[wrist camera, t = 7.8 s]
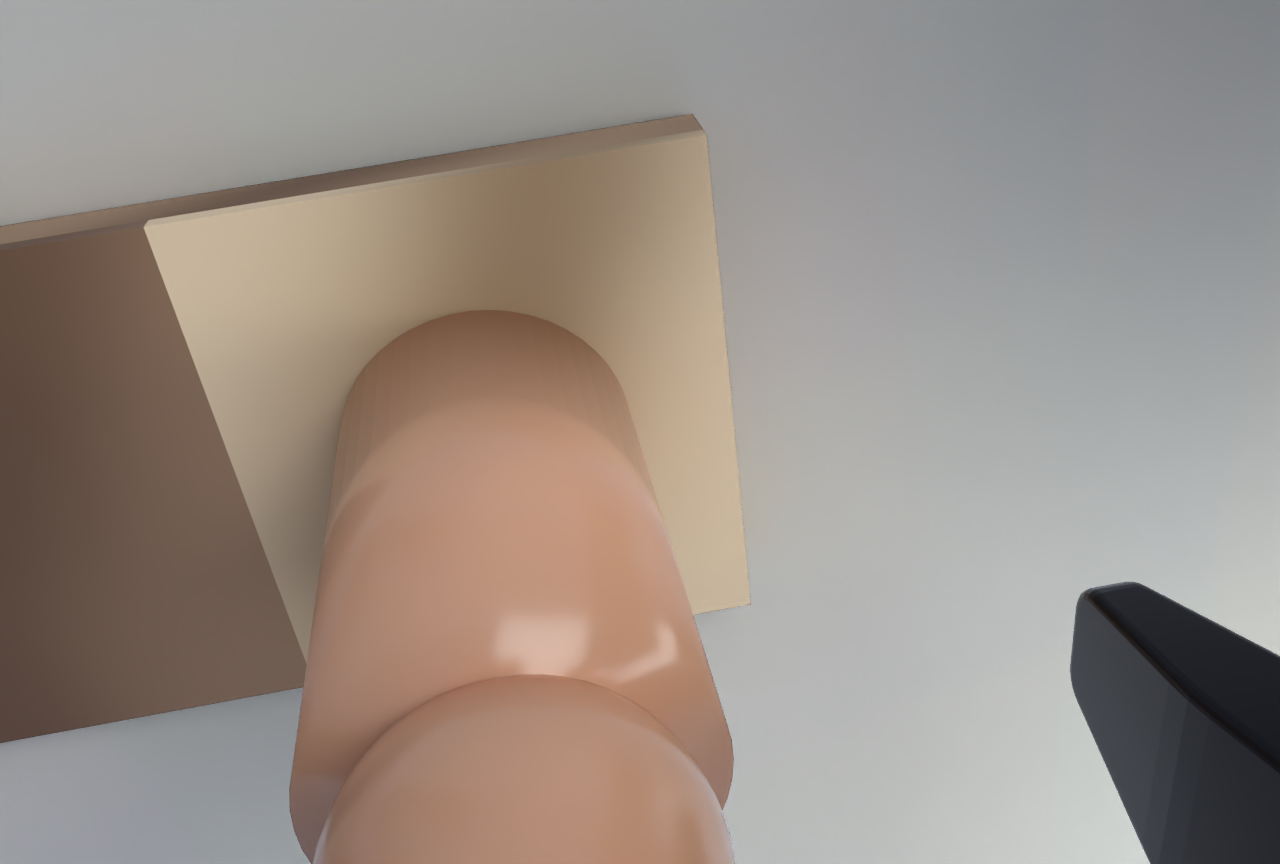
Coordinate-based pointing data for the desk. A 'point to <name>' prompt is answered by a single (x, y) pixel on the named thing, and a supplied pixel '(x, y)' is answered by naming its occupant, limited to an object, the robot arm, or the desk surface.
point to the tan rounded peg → (502, 622)
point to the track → (313, 394)
